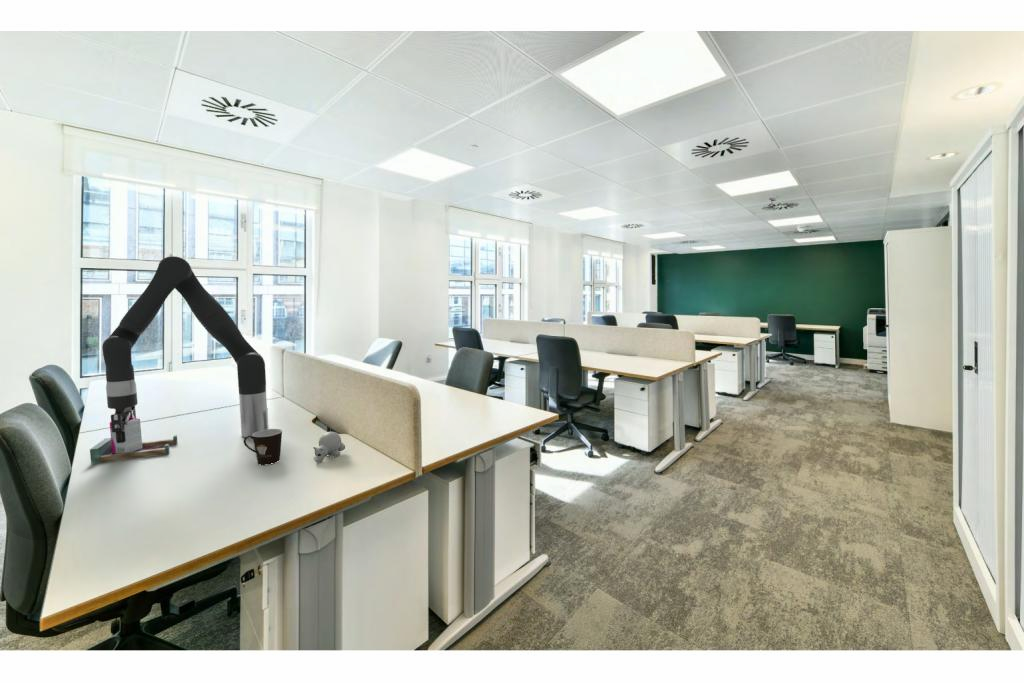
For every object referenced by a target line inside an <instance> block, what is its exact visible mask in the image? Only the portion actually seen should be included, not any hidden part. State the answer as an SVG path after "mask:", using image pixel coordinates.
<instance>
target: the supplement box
mask: <svg viewBox="0 0 1024 683" xmlns="http://www.w3.org/2000/svg"><path fill="white" fill-rule="evenodd" d="M118 428H119V426H118ZM109 429H110V438H111V445H112V453H111V454H119V453H127V452H135V451H143V448H142V442H143V438H142V428H141V418H137V417H136V418H130V419H129V420H128V425H125V437H126V441H125V442H124V443H117V442H116V433H115V432H112V426H111V421H110V422H109Z"/></svg>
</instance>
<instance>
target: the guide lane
mask: <svg viewBox="0 0 1024 683" xmlns="http://www.w3.org/2000/svg"><path fill="white" fill-rule="evenodd" d="M175 445H176V446H177V445H178V435H177V434H176V435H173V437H172V438H169V439H160V440H150V441H142V448H143V449H144V450H143V449H142V450H140V451H135V452H127V453H119V454H112V445H111V437H108V438H104V439H103V440H100V442H98V443H97V444H95V445H94V446H92V447H91V448H89V456H90V464H91V465H94V464H95V465H96V464H97V465H98V464H102V463H104V464H105V463H111V462H118V461H120V462H121V461H126V460H134V459H140V458H147V457H148V458H149V457H156V456H165V455H169V454H170V453H171V452H170V446H175ZM160 447H161V448H160ZM151 448H152V449H151ZM153 448H154V449H153Z"/></svg>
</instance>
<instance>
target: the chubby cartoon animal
mask: <svg viewBox="0 0 1024 683" xmlns="http://www.w3.org/2000/svg"><path fill="white" fill-rule="evenodd" d="M312 448H313V449H314V455H315V456H313V460H314V462H315V463H317V464H320V463H319V462H321V463H322V461H323V462H324V460H325V457H328V456H327V455H330V456H332V457H333V456H334V457H333V458H336V457H335V456H337V457H339V456H340V455H341V452H342V451H344V450H345V449H346V444H344V443H343V442H342V437H341V436H340V434H339V433H338V432H336V431H327V432H325V433H323V434H322V435H321V436H320V438H319V440H318V446H316V447H315V446H314V447H312Z"/></svg>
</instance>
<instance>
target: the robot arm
mask: <svg viewBox="0 0 1024 683" xmlns="http://www.w3.org/2000/svg"><path fill="white" fill-rule="evenodd" d="M157 266H158V267H157V269H156V271H155V272H154V275H153V277H152V278H151V280H150V282H149V284H148V285H147V287H146V288H145V289H144V291H143V292H142V293H141V294H140V296H139V297H138V299H136V301H135V302H134V303H133V304H132V306H131V307H130V308H129V309H128V310H127V311H126V313H125V314H124V315H123V317H122V318H121V319H120V322H119V324H118V326H117V327H116V328H115V329H114V330H113V331H112V333H111V334H110V335H109V337H108V338H107V339H105V340H104V341H103V343H102V348H101V349H102V356H103V360H104V364H105V381H106V386H105V392H106V404H107V408H108V409H111V410H114V413H113V414H110V422H111V426H112V432H115V433H116V442H117V443H124V442H125V441H126V437H125V425H128V420H129V419H130V418H137V414H136V406H137V405H138V392H137V383H136V381H135V371H134V370H135V369H134V365H133V364H132V349H133V348H134V345H135V344H136V342H137V341H138V340H139V338H140V337H141V335H142V334H143V333H144V332H145V331H147V330H146V329H148V327H149V326H150V325H151V323H152V322H153V320H154V319H155V318H156V316H157V315H158V314H159V312H160V310H161V308H162V306H163V305H164V303H165V301H166V300H167V298H168V297H169V296H170V294H171V293H172V292H173V291H174V290H176V291H177V292H178V293H179V294H180V295H181V296H182V298H183V299H184V300H185V302H186V303H187V306H188V307H189V309H190V310H191V312H192V313H193V315H194V316H195V318H196V320H197V321H198V322H199V323H200V324H201V326H202V327H203V328H204V329H205V330H206V331H207V333H208V334H209V335H210V336H212V338H213V339H215V340H216V341H217V342H218V343H219V344H220V345H221V346H222V347H224V348H225V349H226V350H227V352H228V353H229V354H230V356H231V357H232V359H233V360H234V362H235V363H236V370H237V384H238V385H237V386H238V397H239V398H238V400H239V414H240V416H239V417H240V428H241V429H240V430H241V432H240V433H241V437H243V438H246V437H248V436H252V434H253V433H255V432H258V431H261V430H266V429H270V428H269V411H268V410H269V408H268V399H267V379H266V378H267V377H266V375H267V374H266V362H265V360H264V358H263V356H262V355H261V354H260V353H259V352H257V350H256V349H254V347H252V346H251V344H250V343H249V342H248V341H247V339H246V338H245V337H244V336H243V334H242V332H241V331H240V328H238V326H237V324H236V323H235V321H234V320H233V319H232V317H231V315H230V314H229V313H228V312H227V311H226V310H225V308H224V307H223V306H222V305H221V304H220V302H219V301H218V300H217V299H216V298H215V297H214V296H212V294H210V293H209V291H207V290H206V288H205V287H204V286H203V285H202V283H201V282H200V281H199V279H198V277H197V276H196V275H195V273H194V271H193V269H192V267H191V265H190V263H189V262H188V261H187V260H186V259H185V258H183V257H180V256H177V255H176V256H175V255H169V256H167V257H164V258H163V259H161V260H160V261H159V263H158V265H157ZM118 426H119V428H118ZM252 437H253V436H252Z"/></svg>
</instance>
